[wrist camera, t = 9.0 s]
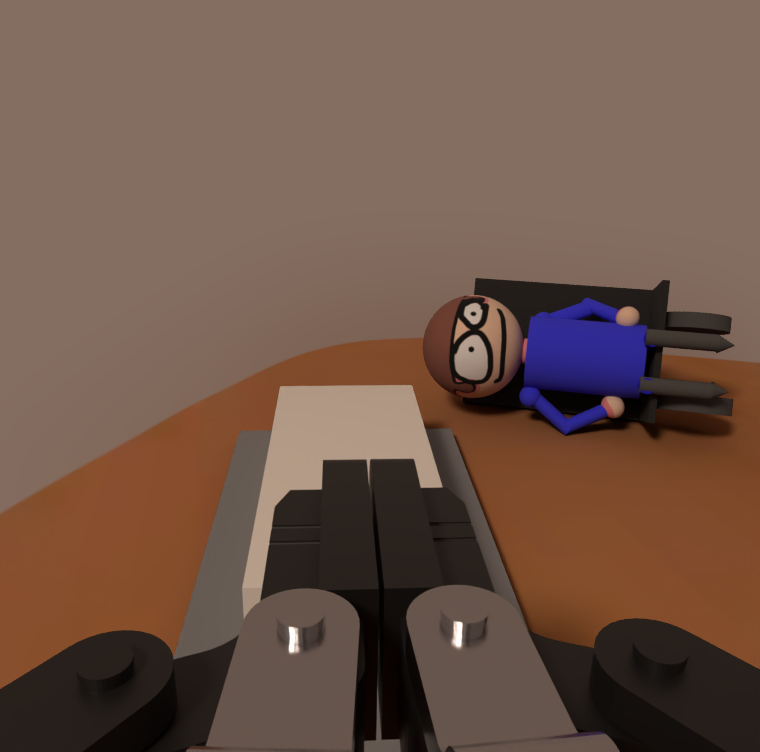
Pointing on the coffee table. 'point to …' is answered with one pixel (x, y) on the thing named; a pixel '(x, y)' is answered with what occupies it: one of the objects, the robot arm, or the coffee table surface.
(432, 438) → the rubber mat
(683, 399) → the character figurine
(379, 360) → the coffee table surface
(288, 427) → the standing tile
